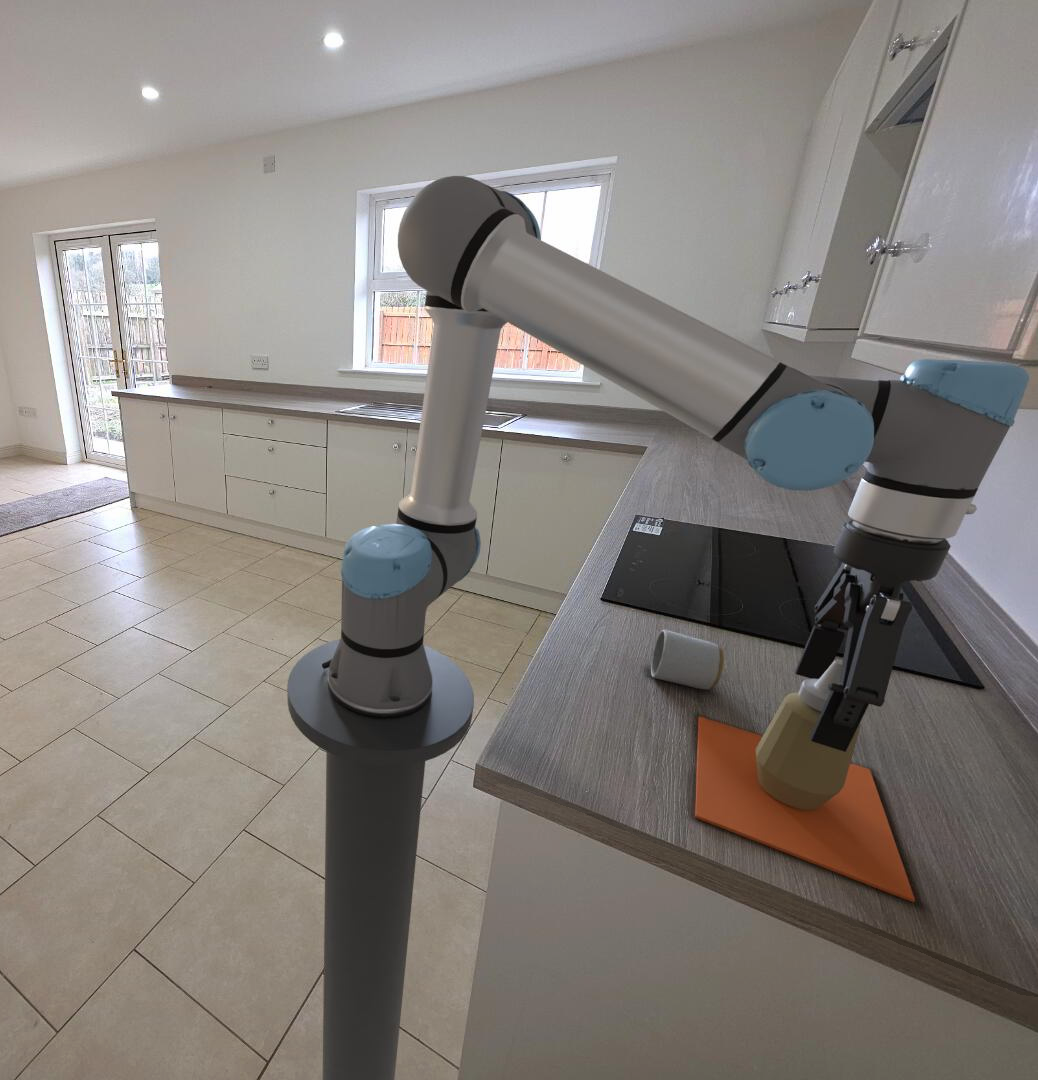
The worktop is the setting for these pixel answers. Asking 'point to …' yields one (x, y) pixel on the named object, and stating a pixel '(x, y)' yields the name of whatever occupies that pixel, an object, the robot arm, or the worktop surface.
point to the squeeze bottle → (802, 749)
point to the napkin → (797, 813)
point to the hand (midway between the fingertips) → (817, 707)
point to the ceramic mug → (687, 660)
